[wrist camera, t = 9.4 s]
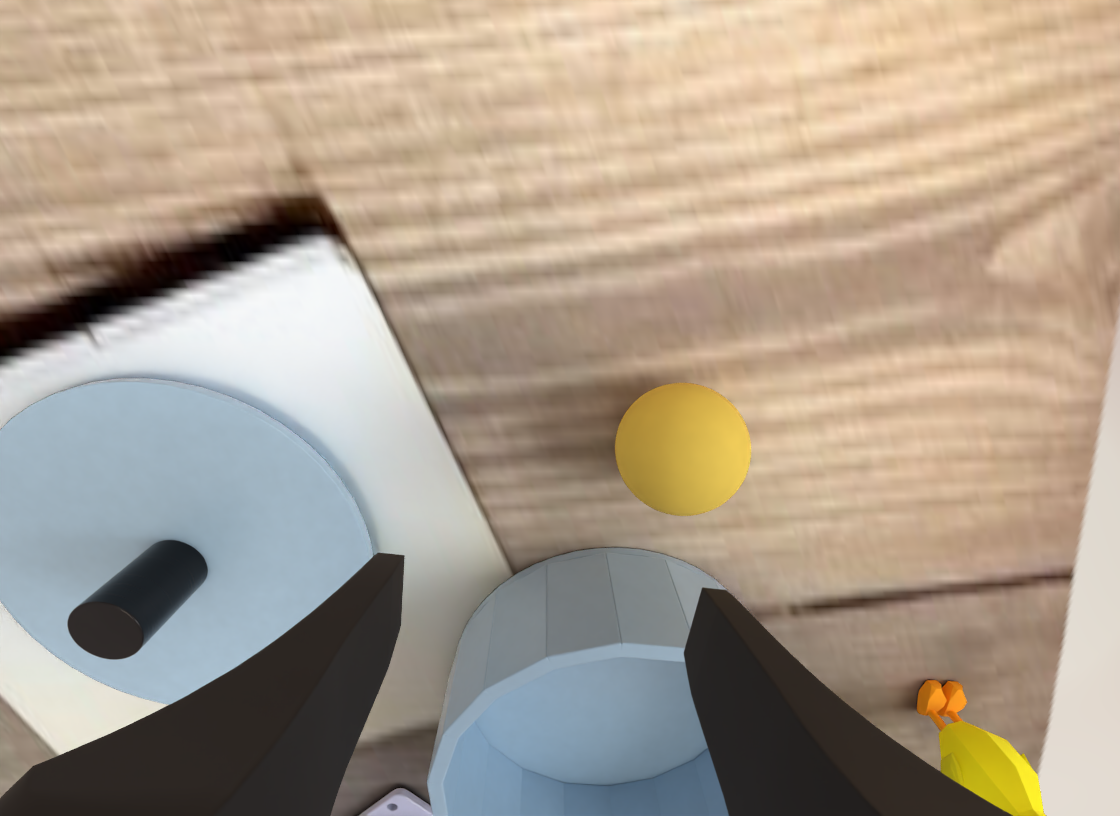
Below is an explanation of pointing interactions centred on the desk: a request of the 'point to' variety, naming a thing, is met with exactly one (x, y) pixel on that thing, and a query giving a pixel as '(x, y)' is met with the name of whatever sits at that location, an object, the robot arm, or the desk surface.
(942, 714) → the toy figure
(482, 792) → the pot
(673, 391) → the ball
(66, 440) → the lid
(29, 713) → the desk surface
